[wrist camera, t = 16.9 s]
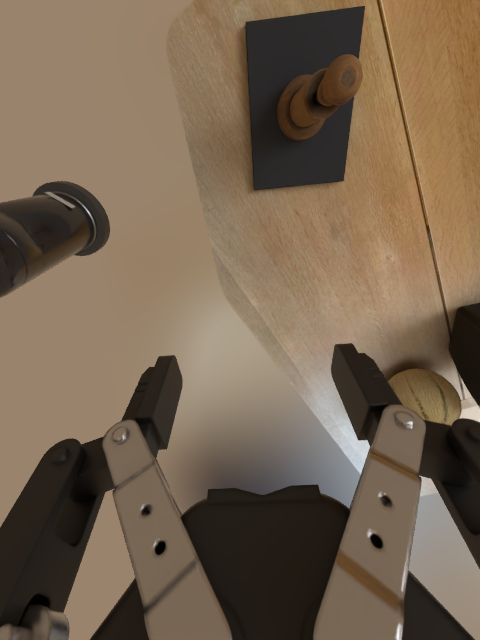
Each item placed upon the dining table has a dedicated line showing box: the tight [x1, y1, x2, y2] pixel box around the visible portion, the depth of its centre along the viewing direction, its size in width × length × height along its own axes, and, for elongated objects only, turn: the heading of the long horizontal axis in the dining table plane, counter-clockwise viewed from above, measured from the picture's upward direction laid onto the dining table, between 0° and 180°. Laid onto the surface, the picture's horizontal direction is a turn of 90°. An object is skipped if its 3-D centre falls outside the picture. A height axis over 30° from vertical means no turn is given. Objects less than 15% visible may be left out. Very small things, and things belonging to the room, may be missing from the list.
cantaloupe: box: [388, 369, 462, 425], centre depth 58 cm, size 15×15×15 cm
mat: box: [246, 6, 365, 190], centre depth 35 cm, size 14×18×1 cm
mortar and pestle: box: [277, 54, 362, 141], centre depth 27 cm, size 7×6×18 cm
